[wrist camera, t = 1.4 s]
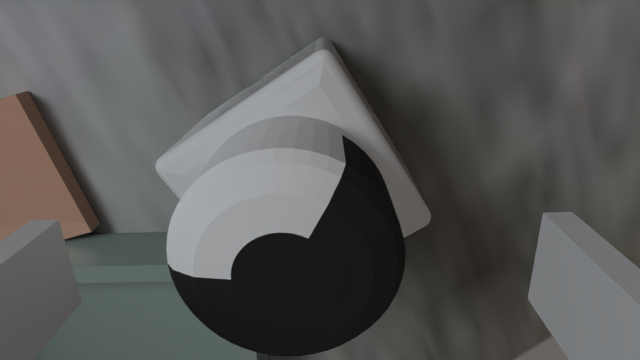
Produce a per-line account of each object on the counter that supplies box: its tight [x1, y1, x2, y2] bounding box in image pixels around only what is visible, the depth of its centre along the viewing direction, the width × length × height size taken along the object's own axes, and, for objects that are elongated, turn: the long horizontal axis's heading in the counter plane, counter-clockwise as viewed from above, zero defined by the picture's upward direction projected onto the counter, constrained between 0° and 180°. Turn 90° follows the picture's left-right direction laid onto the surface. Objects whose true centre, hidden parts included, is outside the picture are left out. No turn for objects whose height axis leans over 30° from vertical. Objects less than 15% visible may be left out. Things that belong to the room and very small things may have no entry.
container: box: [155, 37, 431, 356], centre depth 17 cm, size 8×8×13 cm
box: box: [33, 232, 269, 360], centre depth 27 cm, size 18×15×4 cm
